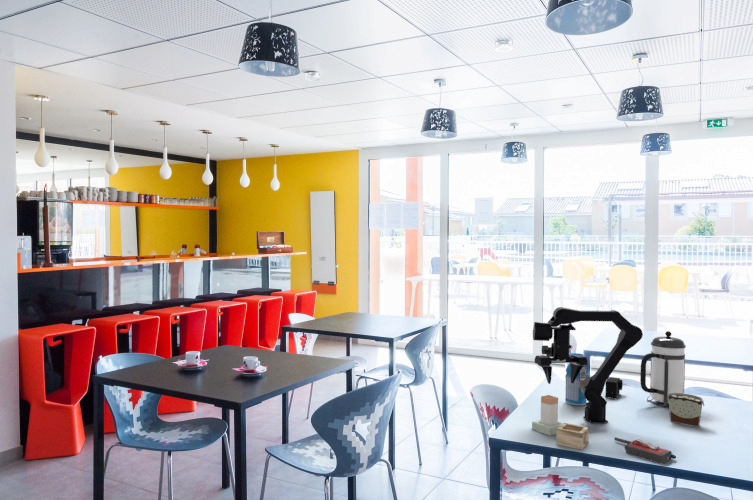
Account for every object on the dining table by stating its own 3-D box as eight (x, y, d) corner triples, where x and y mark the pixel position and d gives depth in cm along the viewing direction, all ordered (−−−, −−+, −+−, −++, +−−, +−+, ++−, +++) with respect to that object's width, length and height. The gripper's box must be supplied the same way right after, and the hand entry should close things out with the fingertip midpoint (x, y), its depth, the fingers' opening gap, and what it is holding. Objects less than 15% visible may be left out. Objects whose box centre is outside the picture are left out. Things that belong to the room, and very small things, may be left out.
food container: (707, 424, 208) (708, 397, 208) (703, 428, 203) (703, 400, 203) (671, 417, 216) (671, 390, 216) (666, 420, 211) (666, 393, 211)
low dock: (547, 425, 202) (548, 418, 202) (566, 432, 196) (566, 424, 196) (531, 428, 198) (532, 421, 198) (549, 435, 191) (549, 427, 191)
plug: (548, 426, 200) (549, 395, 200) (557, 429, 196) (558, 397, 196) (540, 428, 198) (541, 396, 198) (549, 431, 194) (550, 399, 194)
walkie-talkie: (679, 460, 172) (616, 442, 188) (679, 445, 172) (616, 428, 188) (666, 466, 167) (602, 447, 182) (666, 451, 167) (602, 433, 182)
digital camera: (619, 399, 241) (619, 382, 241) (605, 397, 244) (605, 381, 244) (622, 394, 250) (622, 378, 250) (609, 392, 253) (609, 376, 253)
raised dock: (563, 437, 190) (563, 422, 190) (588, 442, 185) (588, 427, 185) (556, 444, 183) (556, 428, 183) (582, 449, 179) (582, 433, 178)
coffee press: (647, 396, 246) (649, 327, 246) (689, 403, 237) (691, 331, 237) (639, 405, 232) (641, 331, 232) (683, 412, 223) (685, 335, 223)
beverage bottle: (565, 404, 230) (566, 355, 230) (564, 399, 239) (565, 352, 238) (587, 406, 228) (588, 357, 228) (586, 401, 236) (587, 353, 236)
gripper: (573, 337, 221) (572, 378, 221) (528, 338, 218) (527, 378, 218) (589, 342, 210) (588, 384, 210) (541, 343, 207) (541, 385, 207)
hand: (560, 383), depth 212 cm, fingers open, 9 cm apart
